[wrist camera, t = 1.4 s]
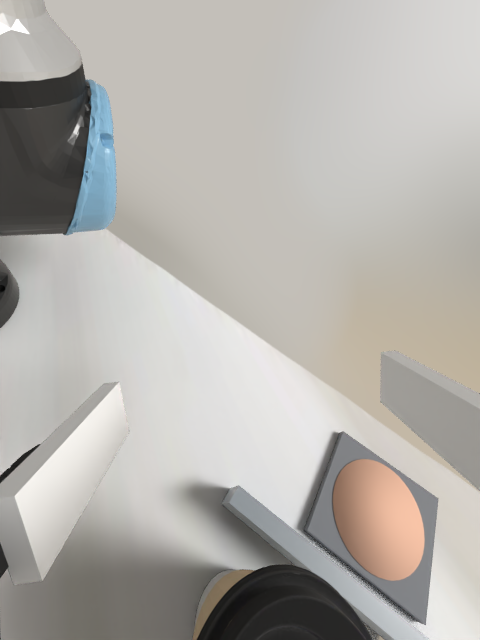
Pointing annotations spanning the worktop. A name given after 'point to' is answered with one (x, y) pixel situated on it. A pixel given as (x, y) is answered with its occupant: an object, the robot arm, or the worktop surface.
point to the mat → (377, 524)
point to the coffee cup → (275, 607)
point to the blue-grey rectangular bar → (319, 566)
